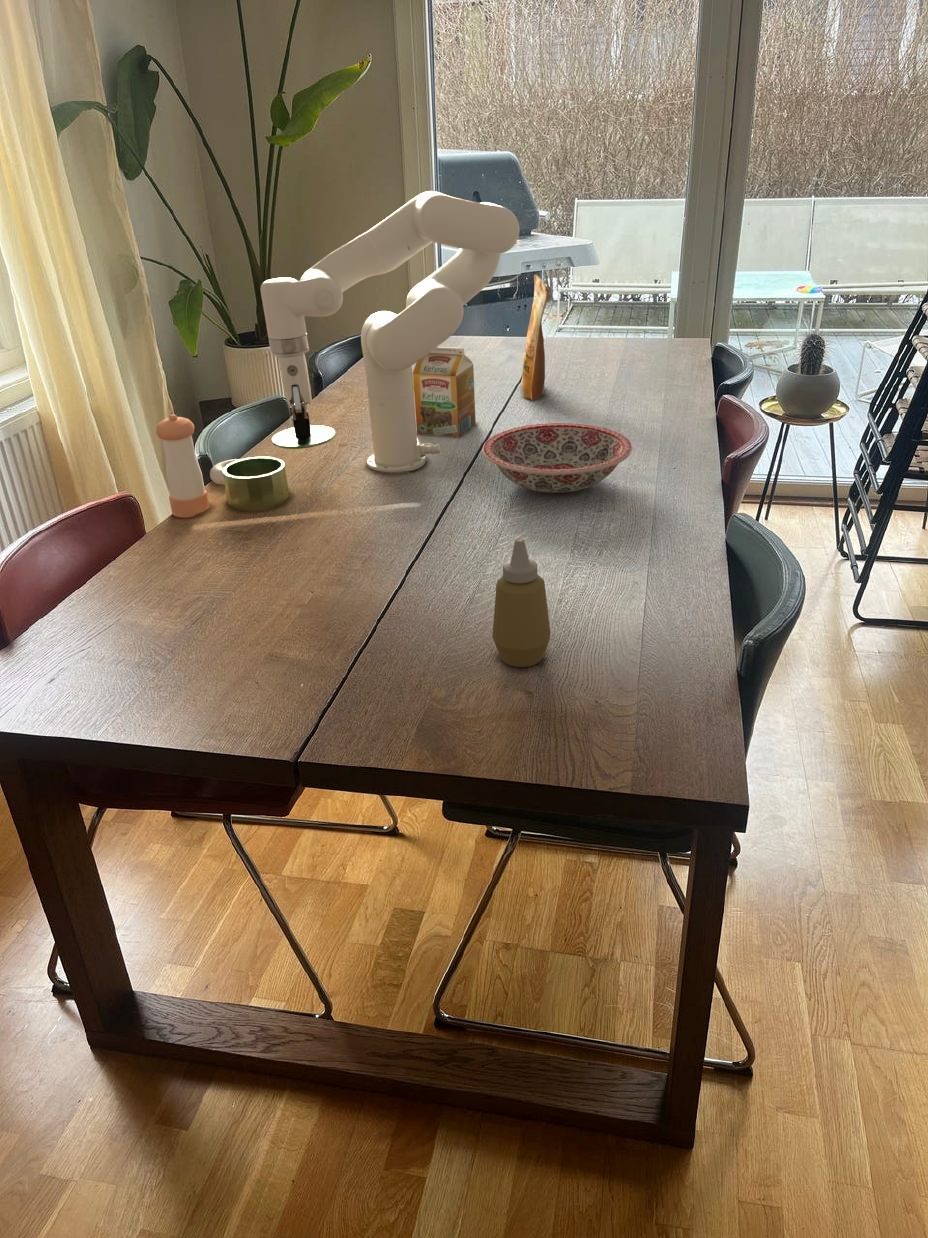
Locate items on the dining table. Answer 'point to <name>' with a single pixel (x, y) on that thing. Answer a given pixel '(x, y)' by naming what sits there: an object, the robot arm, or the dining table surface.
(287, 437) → the lid
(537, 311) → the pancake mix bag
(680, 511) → the dining table surface
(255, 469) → the pot
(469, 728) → the dining table surface
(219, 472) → the donut
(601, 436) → the ceramic bowl
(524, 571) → the squeeze bottle
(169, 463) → the pepper shaker
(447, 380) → the milk carton
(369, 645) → the dining table surface
